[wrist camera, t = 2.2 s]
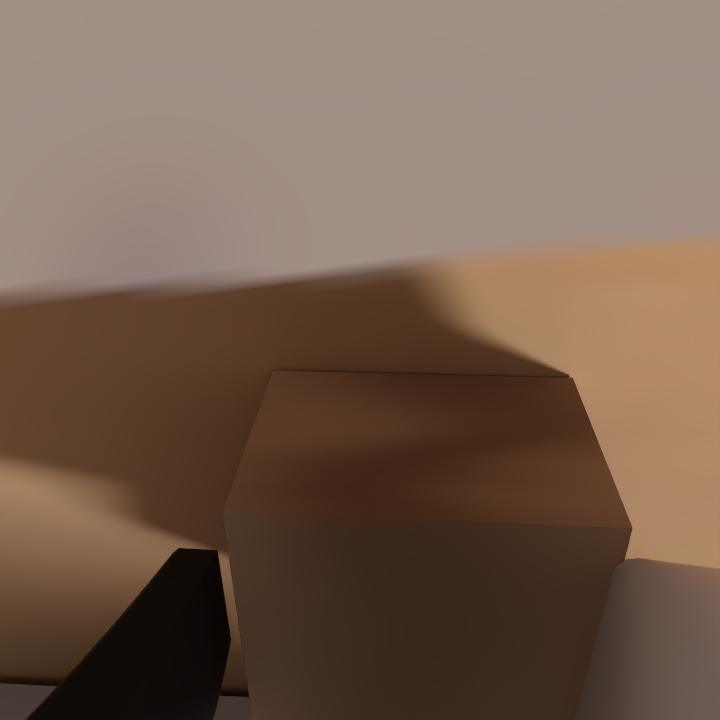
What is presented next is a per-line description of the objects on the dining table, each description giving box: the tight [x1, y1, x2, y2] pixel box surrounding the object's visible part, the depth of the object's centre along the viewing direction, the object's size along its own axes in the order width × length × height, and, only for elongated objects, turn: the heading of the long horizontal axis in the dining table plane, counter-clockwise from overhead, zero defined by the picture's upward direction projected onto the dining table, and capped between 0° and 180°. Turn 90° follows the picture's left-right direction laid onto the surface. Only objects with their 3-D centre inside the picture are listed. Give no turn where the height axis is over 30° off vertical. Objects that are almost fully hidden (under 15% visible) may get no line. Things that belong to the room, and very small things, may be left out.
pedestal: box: [222, 370, 632, 720], centre depth 11 cm, size 5×5×4 cm
